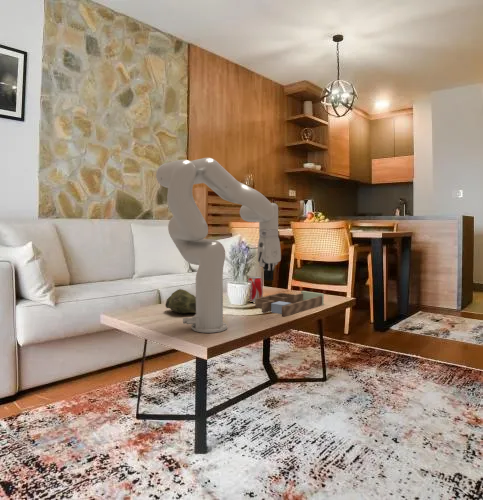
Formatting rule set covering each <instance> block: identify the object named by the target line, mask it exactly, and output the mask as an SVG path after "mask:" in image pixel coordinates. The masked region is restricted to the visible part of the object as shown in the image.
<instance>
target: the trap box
mask: <svg viewBox="0 0 483 500" xmlns="http://www.w3.org/2000/svg"><path fill="white" fill-rule="evenodd" d="M278 301H281V302H288V303H291V304H289V305H285V306H282V314H281V317H287V316H291V315H294V314H297V312H298V313H300V311H301V312H304V311H307V310H311V309H314V308H316V307H320V306H323V305H322V296H318V297H314V298H311V299H307V300H303V294H302V293H301V292H300V293H297V294H295V293H293V294H292V293H285V292H278V293H274V294H270V295H269V294H268V295H265V296H263V297H260V298H255V303H254V305H255V306H254V307H255V308H256V309H261V313H262V312H263V314H264V313H265V314H266V313H269V312H271V303H275V302H278ZM268 311H269V312H268Z"/></svg>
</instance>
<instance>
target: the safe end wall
mask: <svg viewBox="0 0 483 500" xmlns="http://www.w3.org/2000/svg"><path fill="white" fill-rule="evenodd" d="M300 293H302V294H303V300H307V299H311V298H314V297H318V296H322V305H321V306H323V305H324V302H325V300H324V297H325V296H324V295H325V293H321V292H315V291H314V292H313V291H307V290H301V291H300Z"/></svg>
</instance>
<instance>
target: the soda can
mask: <svg viewBox="0 0 483 500" xmlns="http://www.w3.org/2000/svg"><path fill="white" fill-rule="evenodd" d="M248 282H250V283H251V289H250V296H249V299H250V301H252V302H255V298H260V297H264V296H263V293H264V292H263V291H264V289H263V288H264V287H263V286H264V284H263V283H264V282H263V280H262V277H261V276H260V275H259V276H257V275H255V276H254V275H252V276H251V275H250V276H248V279H247V283H248Z"/></svg>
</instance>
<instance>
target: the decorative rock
mask: <svg viewBox="0 0 483 500" xmlns="http://www.w3.org/2000/svg"><path fill="white" fill-rule="evenodd" d="M165 308H166V309H170V310H172V311H173V312H174V313H179V314H180V315H185V314H189V313H191V314H192V313H193V314H196V295H194V294H193V293H191V292H189V291H187V290H184V289H181V288H179V289H177V290H175V291H173V292H172V293H171V295H170V296H169V297H168V298H167V299H166V301H165Z"/></svg>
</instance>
